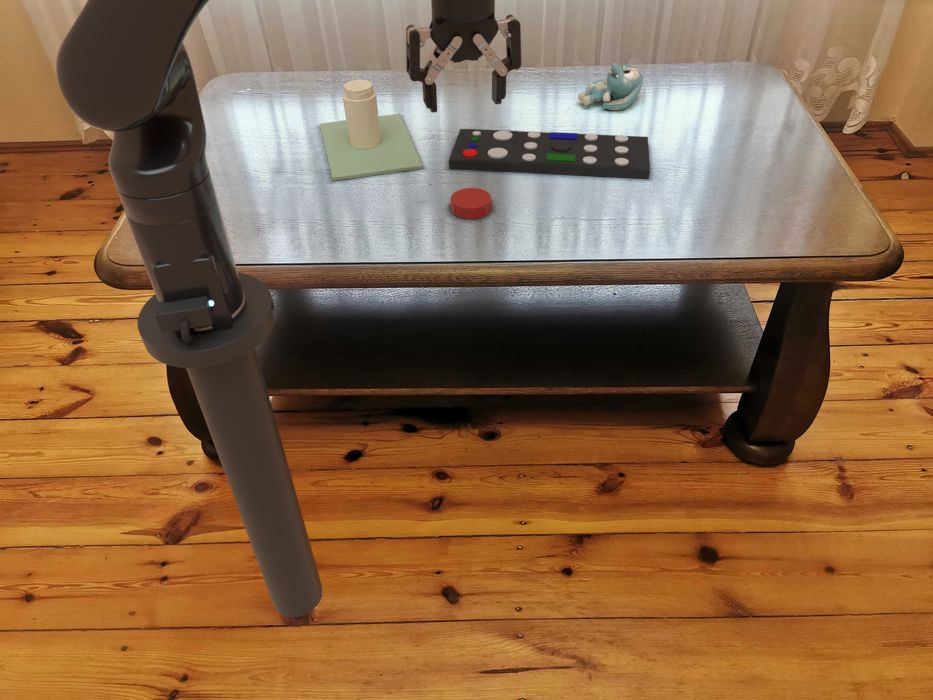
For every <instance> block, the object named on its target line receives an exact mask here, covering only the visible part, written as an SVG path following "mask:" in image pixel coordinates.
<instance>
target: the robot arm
mask: <svg viewBox="0 0 933 700" xmlns="http://www.w3.org/2000/svg"><path fill="white" fill-rule="evenodd" d="M209 1H210V0H86V2H85V4H84V6H83V8H82V9H81V11H80V13H79V14H78V16H77V18H76V19H75V21H74V22H73V24H72V26H71V27H70V28H69V30H68V32H67V33H66V35H65V36H64V38H63V39H62V41H61V43H60V45H59V48H58V51H57V54H56V59H55V60H56V61H55V73H56V80H57V84H58V88H59V90H60V92H61V95H62V98H63V99H64V101H65V102H66V104H67V106H68V108H69V109H70V110H71V111H72V112H73V114H75V116H76V117H77V118H79V119H80V120H81V121H83V122H84V123H85V124H87V125H89V126H91V127H93V128H95V129H99V130H102V131H106V132H113V137H112V143H111V148H110V151H109V156H108V170H109V173H110V175H111V179H112V182H113V184H114V186H115V187H114V188H115V189H116V191H117V195H118V197H119V200H120V204H121V205H122V209H123V211H124V213H125V217H126V219H127V222H128V225H129V227H130V230H131V233H132V236H133V239H134V241H135V243H136V244H135V245H136V246H137V248H138V252H139V254H140V257H141V260H142V262H143V265H144V268H145V270H146V273H147V275H148V278H149V281H150V284H151V286H152V289H153V292H154V294H156V297H157V300H158V302H156V310H155V317H156V320H157V323H158V325H159V328H160V331H161V333H166V332H172V331H175V333H176V336H177V337H178V338H179V337H182V340H183V341H184V342H185V343H187V344H190V343H192V342H193V338H192V337H191V335H197V334H204V333H209V332H215V331H221V330H227V329H231V328H233V322H234V321H235V320H237V319H238V318H239V317H240V316H241V314H242V313H243V312H244V310H245V307H246V298H245V294H244V291H243V289H242V286H241V283H240V279H239V276H238V269H237V266H236V262H235V258H234V255H233V251H232V248H231V244H230V241H229V236H228V234H227V229H226V226H225V222H224V219H223V215H222V211H221V207H220V206H219V201H218V197H217V194H216V190H215V185H214V182H213V178H212V175H211V172H210V168H209V163H208V159H207V153H206V151H207V129H206V123H205V118H204V114H203V109H202V105H201V100H200V96H199V91H198V87H197V82H196V79H195V75H194V69H193V68H192V63H191V60H190V57H189V54H188V51H187V48H186V46H185V44H184V40H185V39H186V37H187V35H188V33H189V31H190V29H191V27H192V26H193V24H194V22H195V20H196V19H197V17H198V16H199V14H200V13H201V12H202V11H203V9H204V7H205V6H206V5H207V4H208V3H209ZM430 1H431V21H430V24H429V26H427V27H425V26H423V27H416V26H415V25H413V24H409V25H407V27H406V29H405V54H406V55H405V56H406V57H405V58H406V59H405V63H406V64H405V65H406V67H405V68H406V69H405V70H406V73H407V74H408V76H409V78H410V80H411V81H412V82H420V83H422V98H423V103H424V106H425V107H426V109H428V110H429V111H430V113H431V114H433V113H434V114H435V113H437V112H438V96H437V94H438V92H437V83H436V82H435V81H436V79H437V78H438V77H439V75H440V74H441V72H442V71H444V70H445V69H446V67H447V65H448V64H449V63H450V62H453V63H454V64H457V63H461V62H464V61H470V62H474V61H479V59H480V58H482V57H485V59H486V60H487V61H488V62H489V64H490V65H491V66H492V67H493V70H492V71H491V100H492V102H493V103H494V104H495V105H502V101H503V100H504V99H506V96H507V75H508V74H509V73H510V72H512V71H513V70H519V69H520V68H521V67H522V35H521V34H522V33H521V32H522V31H521V30H522V29H521V22H520V21H519V20H518V19H517V18H516V17H515V16H514V15H513V14H507V15H506V17H505V18H501V19H496V16H495V15H496V13H495V11H496V0H430ZM499 31H500V34H501V35H502V36H503V37H504V38H505V52H506V57H504V58H502V59H500V58H499V56H498V55H497V53H496V52H495V51H494V50H493V48H492V47H491V46H490V45H491V43H492V42H493V40H494V39H495V38H496V36H497V34H498V32H499ZM429 38H430V39H431V41H432V42H433V43H434V45H435V46H434V47H433V49H432V51H431V52H430V53H429V57H428V60H427V61H426V62H425V63H424V64H425V65H424V66H423V68H422V67H421V48H423V47H425V46H426V41H427V40H429Z"/></svg>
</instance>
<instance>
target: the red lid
mask: <svg viewBox="0 0 933 700" xmlns="http://www.w3.org/2000/svg"><path fill="white" fill-rule="evenodd" d="M449 205H450V207H449V208H450V212H451V213H452V214H453V215H454V216H455V217H457V218H459V219H464V220H477V219H481V218H484V217H486V216H488V215H489V214H490V213H491V211H492V196H491V194H490V192H488V191H487V190H485V189H483V188H479V187H464V188H461V189H458V190H455V191H454V192H453V193H452V194H451V196H450V203H449Z"/></svg>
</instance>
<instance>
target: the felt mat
mask: <svg viewBox="0 0 933 700" xmlns="http://www.w3.org/2000/svg"><path fill="white" fill-rule="evenodd" d="M378 116H379V125H380V135H381V143H380V144H379V145H378V146H376V147H374V148H370V149H356V148H353V147H351V146H350V144H349V138H348V131H347V123H346V119H345V120H337V121H330V122H322V123H319V128H320V133H321V136H322V137H321V138H322V141H323V145H324V149H325V153H326V158H327V162H328V166H329V171H330V174H331V175H330V176H331V180H332V182H336V181H343V180H351V179H357V178H359V179H360V178H364V177H373V176H380V175H386V174H393V173H394V174H395V173H400V172H408V171H414V170H415V171H417V170H422V169H424V165H423V163H422V160H421V158H420V156H419V153H418V151H417V149H416V146H415V144H414V143H413V140H412V138H411V136H410V133H409V130H408V128H407V126H406V125H405V122H404V119H403V117H402V114H401V113H394V114H393V113H392V114H385V115H378Z"/></svg>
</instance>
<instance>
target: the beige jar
mask: <svg viewBox="0 0 933 700" xmlns="http://www.w3.org/2000/svg"><path fill="white" fill-rule="evenodd" d="M343 88H344V89H343V90H344V93H343V94H342V101H343V108H344V116H345V120H346V123H347V131H348V138H349V144H350V146H351V147H353V148H356V149H370V148H374V147H376V146H378V145H379V144H380V143H381V135H380V125H379V116H380V115H379V108H378V98H377V91H375V90H374V84H373V82H372V81H370V80H367V79H353V80H350V81H347V82H346V83H345V84H344V85H343Z"/></svg>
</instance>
